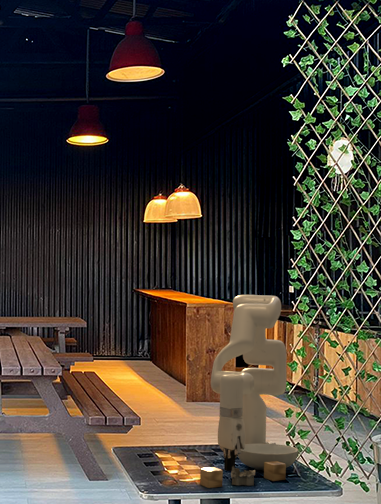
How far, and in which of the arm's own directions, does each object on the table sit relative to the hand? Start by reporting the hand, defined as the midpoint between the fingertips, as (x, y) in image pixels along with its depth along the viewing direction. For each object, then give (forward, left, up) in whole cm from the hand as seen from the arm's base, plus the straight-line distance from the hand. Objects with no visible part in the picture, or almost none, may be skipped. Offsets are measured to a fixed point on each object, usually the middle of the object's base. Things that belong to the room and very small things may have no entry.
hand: (229, 470), depth 273 cm
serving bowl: (-19, -6, -2) cm, 20 cm away
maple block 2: (-12, +8, -2) cm, 15 cm away
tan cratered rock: (0, +8, -2) cm, 8 cm away
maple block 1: (+12, +8, -2) cm, 14 cm away
